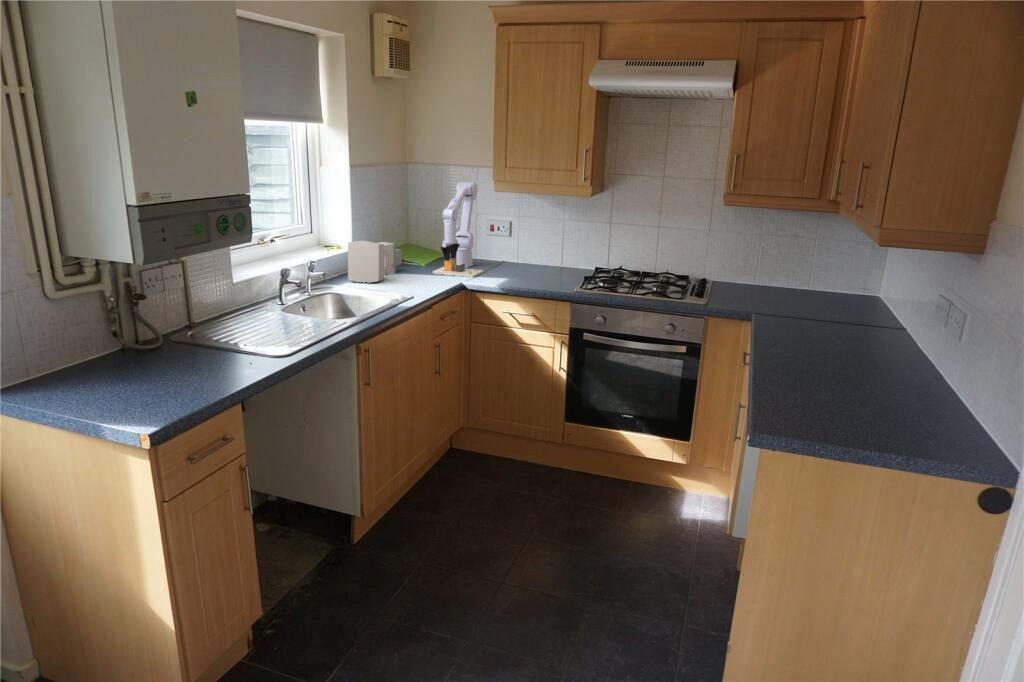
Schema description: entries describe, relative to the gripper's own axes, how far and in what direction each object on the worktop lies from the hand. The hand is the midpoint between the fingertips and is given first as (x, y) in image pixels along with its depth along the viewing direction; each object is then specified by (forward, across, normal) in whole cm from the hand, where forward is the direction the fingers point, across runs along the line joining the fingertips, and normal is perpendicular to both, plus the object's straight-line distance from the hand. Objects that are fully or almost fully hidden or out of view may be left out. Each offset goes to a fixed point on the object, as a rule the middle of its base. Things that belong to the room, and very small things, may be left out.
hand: (450, 259), depth 347 cm
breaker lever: (+5, 0, +6) cm, 8 cm away
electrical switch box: (+7, +34, -28) cm, 44 cm away
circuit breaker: (+7, +14, -28) cm, 32 cm away
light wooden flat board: (+7, 0, +4) cm, 8 cm away
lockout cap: (+5, 0, 0) cm, 5 cm away
